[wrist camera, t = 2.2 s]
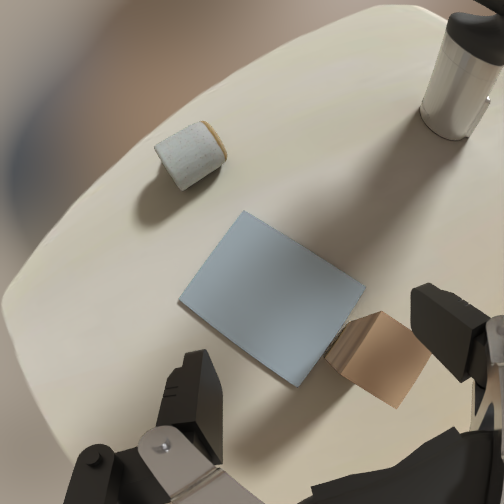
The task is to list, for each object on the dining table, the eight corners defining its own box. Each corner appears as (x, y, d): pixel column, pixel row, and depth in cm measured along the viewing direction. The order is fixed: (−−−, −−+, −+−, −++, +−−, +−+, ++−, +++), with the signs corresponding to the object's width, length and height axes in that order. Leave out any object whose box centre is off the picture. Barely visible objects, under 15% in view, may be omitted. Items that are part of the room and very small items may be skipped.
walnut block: (382, 344, 31) (435, 347, 16) (358, 380, 30) (396, 409, 16) (348, 322, 32) (381, 310, 18) (324, 358, 31) (340, 374, 17)
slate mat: (365, 287, 33) (366, 287, 32) (297, 386, 31) (297, 387, 30) (244, 211, 38) (243, 210, 38) (180, 299, 36) (178, 298, 36)
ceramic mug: (236, 168, 40) (221, 134, 33) (188, 200, 40) (165, 172, 33) (202, 128, 44) (186, 96, 37) (160, 156, 44) (138, 128, 37)
